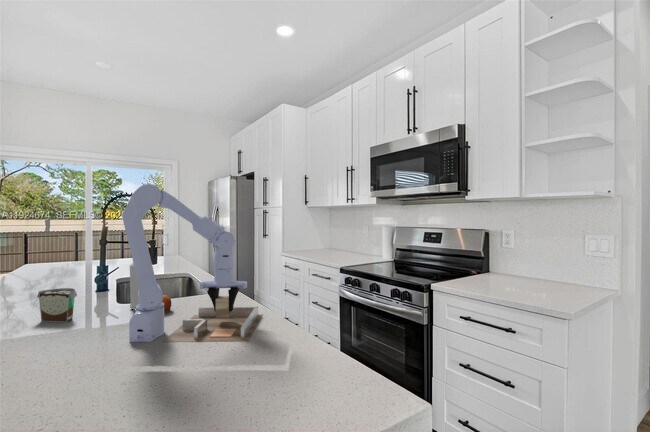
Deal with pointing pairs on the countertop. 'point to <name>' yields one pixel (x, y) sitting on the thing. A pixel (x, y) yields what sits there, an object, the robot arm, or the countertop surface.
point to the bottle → (133, 287)
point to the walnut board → (212, 325)
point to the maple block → (222, 307)
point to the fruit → (166, 303)
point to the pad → (223, 333)
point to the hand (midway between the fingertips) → (223, 310)
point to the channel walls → (201, 324)
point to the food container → (57, 304)
